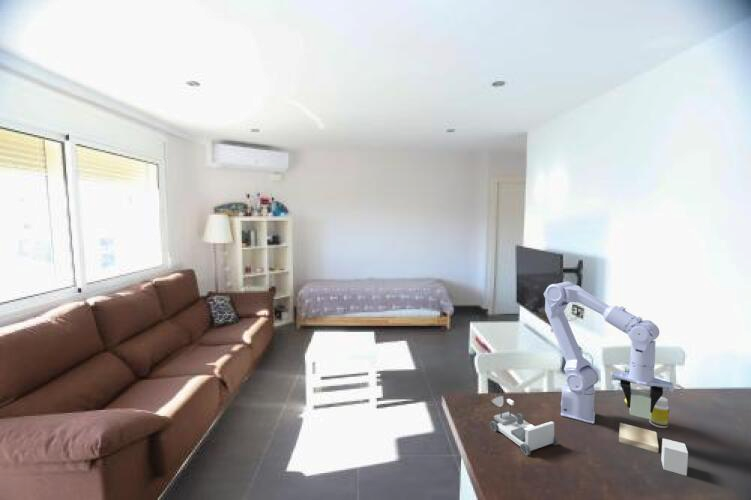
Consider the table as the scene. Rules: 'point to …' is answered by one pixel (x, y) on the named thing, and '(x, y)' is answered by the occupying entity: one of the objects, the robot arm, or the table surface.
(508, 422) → the toy car
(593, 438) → the table surface
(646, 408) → the sage block
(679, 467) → the grey block
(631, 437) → the birch block
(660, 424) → the supplement bottle
